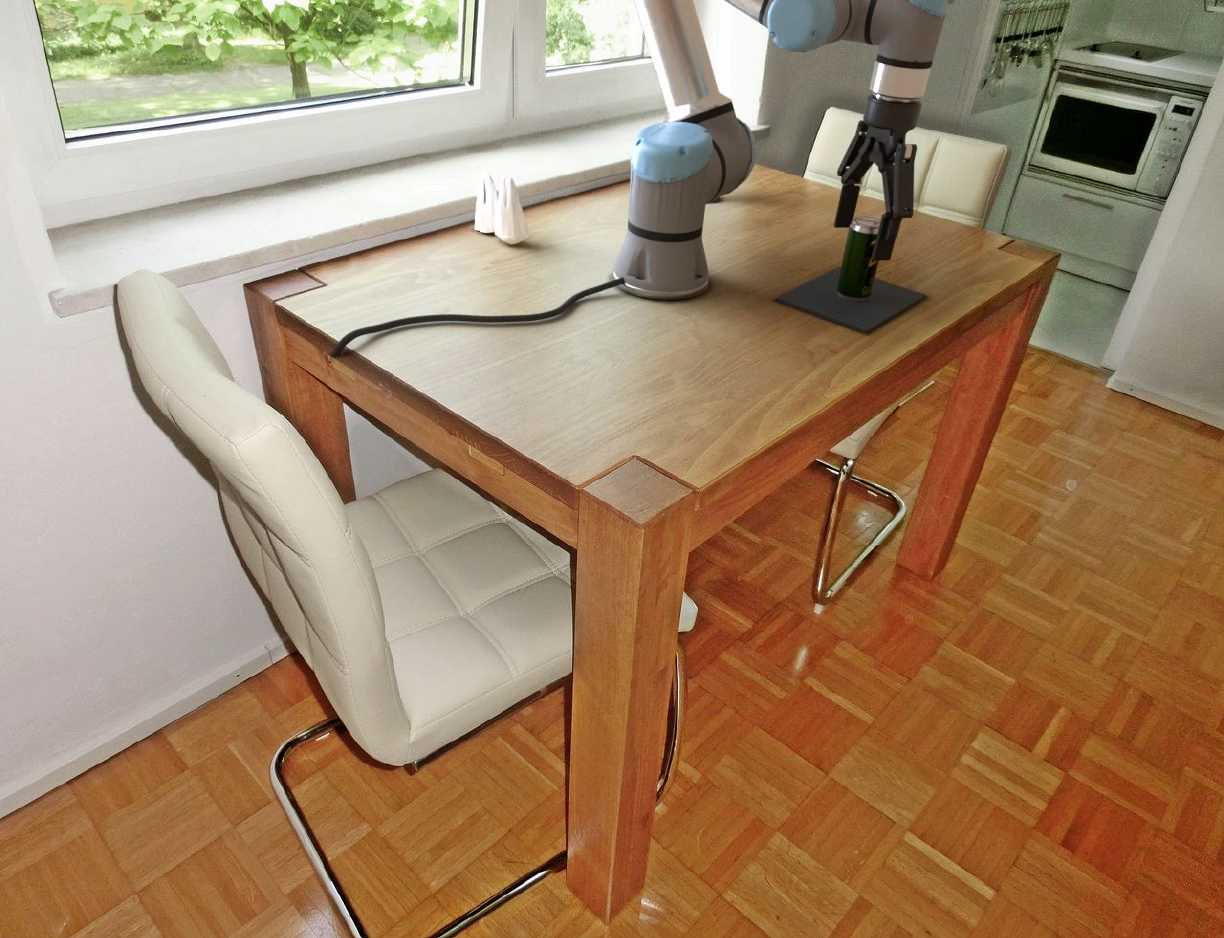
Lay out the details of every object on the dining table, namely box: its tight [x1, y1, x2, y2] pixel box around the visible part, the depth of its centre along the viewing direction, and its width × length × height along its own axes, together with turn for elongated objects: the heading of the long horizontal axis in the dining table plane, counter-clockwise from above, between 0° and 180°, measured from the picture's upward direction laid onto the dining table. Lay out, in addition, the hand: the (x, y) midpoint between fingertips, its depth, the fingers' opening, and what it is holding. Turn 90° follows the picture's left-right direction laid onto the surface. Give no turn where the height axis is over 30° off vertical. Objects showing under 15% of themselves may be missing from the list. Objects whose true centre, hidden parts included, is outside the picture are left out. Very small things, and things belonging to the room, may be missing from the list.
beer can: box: [837, 215, 881, 302], centre depth 138 cm, size 5×5×12 cm
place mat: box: [774, 266, 927, 335], centre depth 142 cm, size 20×16×1 cm
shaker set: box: [474, 173, 530, 245], centre depth 154 cm, size 12×4×11 cm, turn 40°
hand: (860, 242), depth 137 cm, fingers open, 13 cm apart
